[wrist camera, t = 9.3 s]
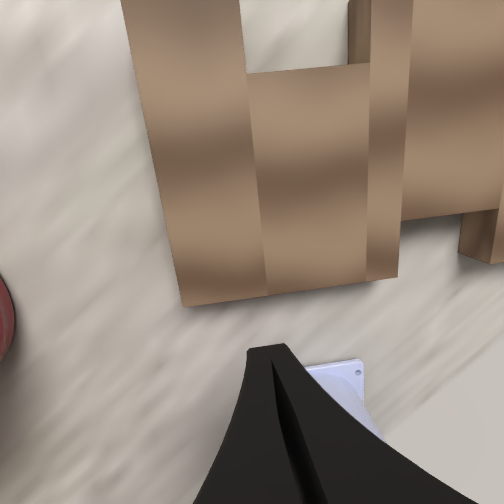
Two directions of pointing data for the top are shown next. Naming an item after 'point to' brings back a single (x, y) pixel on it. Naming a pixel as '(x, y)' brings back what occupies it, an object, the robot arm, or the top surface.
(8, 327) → the canister
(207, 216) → the wooden slab structure
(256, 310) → the top surface
